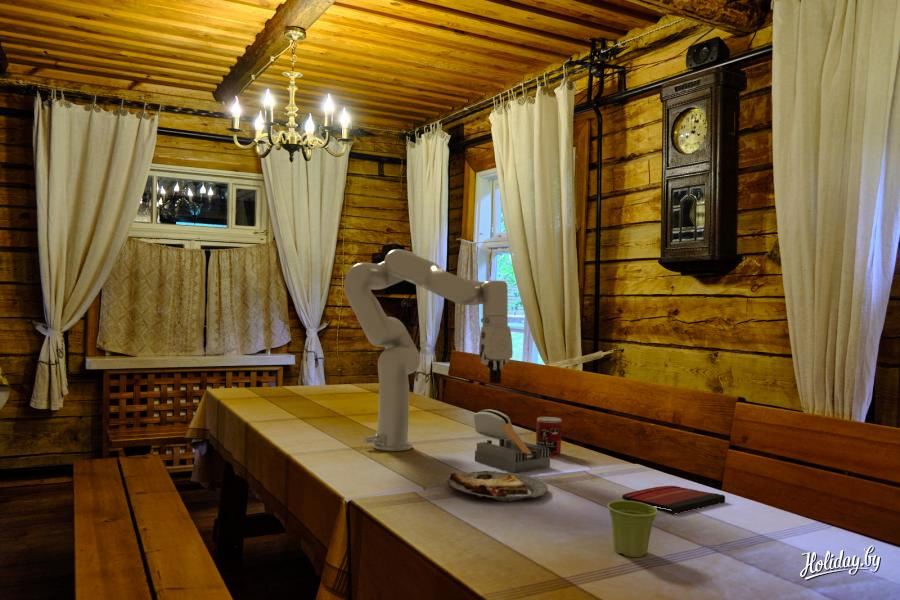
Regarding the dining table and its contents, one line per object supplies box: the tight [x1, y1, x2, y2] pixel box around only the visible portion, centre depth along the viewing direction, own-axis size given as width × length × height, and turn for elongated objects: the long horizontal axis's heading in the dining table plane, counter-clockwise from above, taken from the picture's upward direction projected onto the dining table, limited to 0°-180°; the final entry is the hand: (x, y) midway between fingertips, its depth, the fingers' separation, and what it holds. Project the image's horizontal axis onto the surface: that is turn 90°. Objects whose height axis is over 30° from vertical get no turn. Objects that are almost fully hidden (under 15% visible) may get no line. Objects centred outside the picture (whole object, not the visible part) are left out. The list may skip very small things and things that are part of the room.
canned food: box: [535, 416, 563, 457], centre depth 221 cm, size 8×8×11 cm
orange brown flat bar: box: [501, 423, 532, 456], centre depth 204 cm, size 3×12×1 cm
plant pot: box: [607, 499, 659, 558], centre depth 136 cm, size 9×9×9 cm
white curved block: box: [473, 409, 514, 440], centre depth 249 cm, size 17×5×10 cm, turn 40°
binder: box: [621, 485, 726, 515], centre depth 174 cm, size 16×2×21 cm
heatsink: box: [474, 438, 551, 474], centre depth 205 cm, size 14×17×6 cm
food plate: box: [447, 470, 549, 503], centre depth 177 cm, size 25×23×4 cm
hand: (495, 382), depth 211 cm, fingers closed
